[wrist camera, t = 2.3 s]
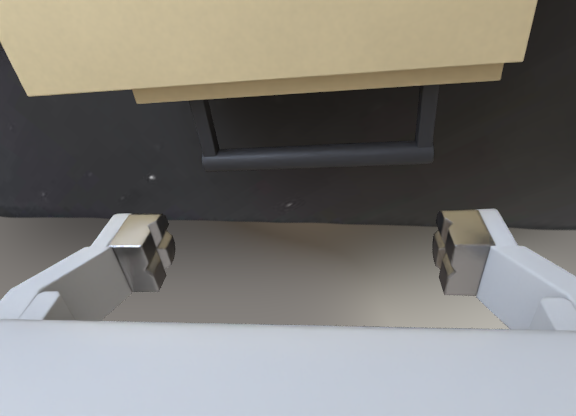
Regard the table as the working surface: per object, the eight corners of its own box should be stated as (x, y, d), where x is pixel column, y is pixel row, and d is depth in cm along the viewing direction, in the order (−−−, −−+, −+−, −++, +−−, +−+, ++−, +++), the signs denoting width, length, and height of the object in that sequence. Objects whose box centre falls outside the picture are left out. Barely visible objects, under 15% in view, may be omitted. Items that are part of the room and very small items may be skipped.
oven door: (445, 6, 34) (504, 62, 21) (435, 88, 38) (480, 174, 26) (200, 28, 37) (131, 88, 25) (217, 102, 41) (164, 184, 29)
